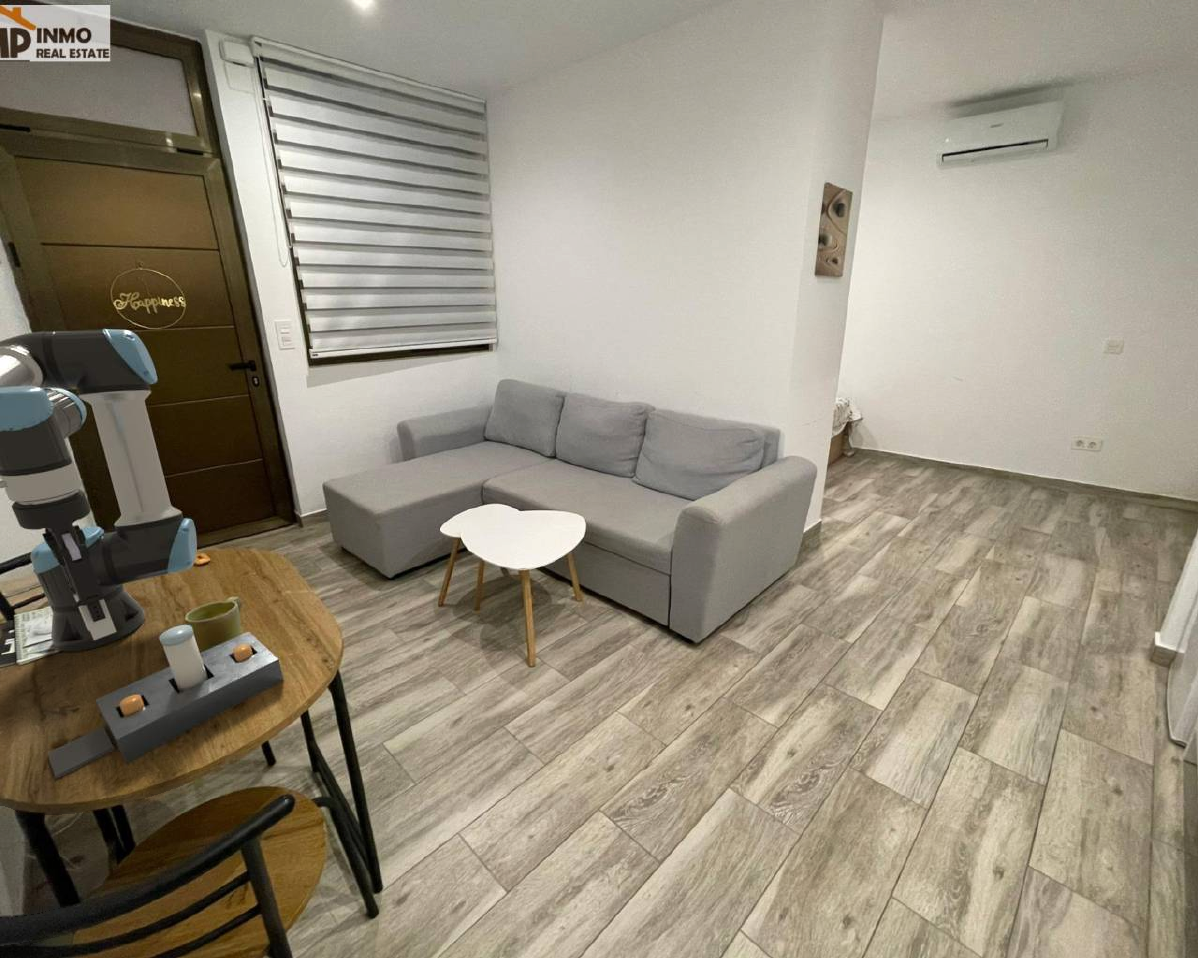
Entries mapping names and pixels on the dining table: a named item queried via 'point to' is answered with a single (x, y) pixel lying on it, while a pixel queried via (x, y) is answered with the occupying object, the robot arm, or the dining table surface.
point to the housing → (188, 696)
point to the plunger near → (131, 704)
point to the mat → (80, 752)
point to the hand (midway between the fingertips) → (101, 630)
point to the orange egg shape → (242, 652)
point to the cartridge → (183, 657)
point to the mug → (215, 623)
